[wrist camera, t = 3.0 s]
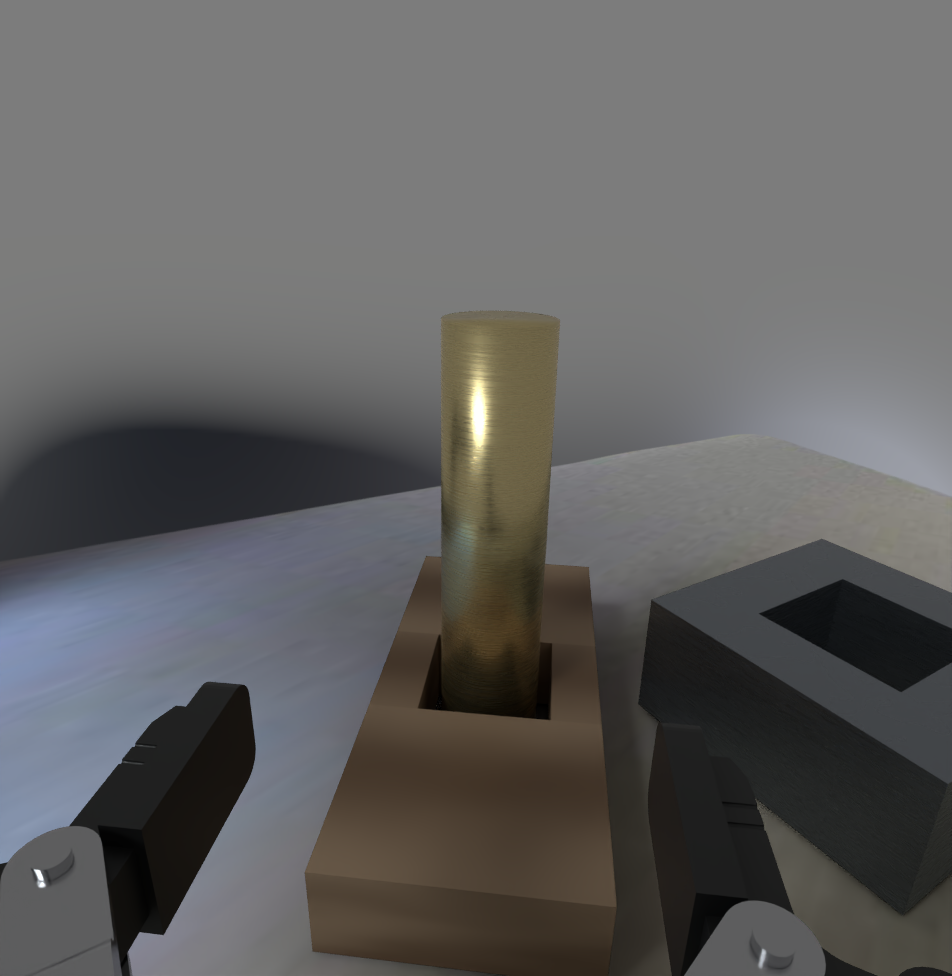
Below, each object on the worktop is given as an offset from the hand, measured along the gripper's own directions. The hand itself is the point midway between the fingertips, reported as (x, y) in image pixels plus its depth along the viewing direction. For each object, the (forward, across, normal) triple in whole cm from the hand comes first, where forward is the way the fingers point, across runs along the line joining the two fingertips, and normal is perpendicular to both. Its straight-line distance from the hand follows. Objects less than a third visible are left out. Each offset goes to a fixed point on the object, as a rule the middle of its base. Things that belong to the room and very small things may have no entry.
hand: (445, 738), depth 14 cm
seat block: (+13, -14, +10) cm, 21 cm away
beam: (+11, 0, +10) cm, 15 cm away
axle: (+11, 0, +10) cm, 15 cm away
